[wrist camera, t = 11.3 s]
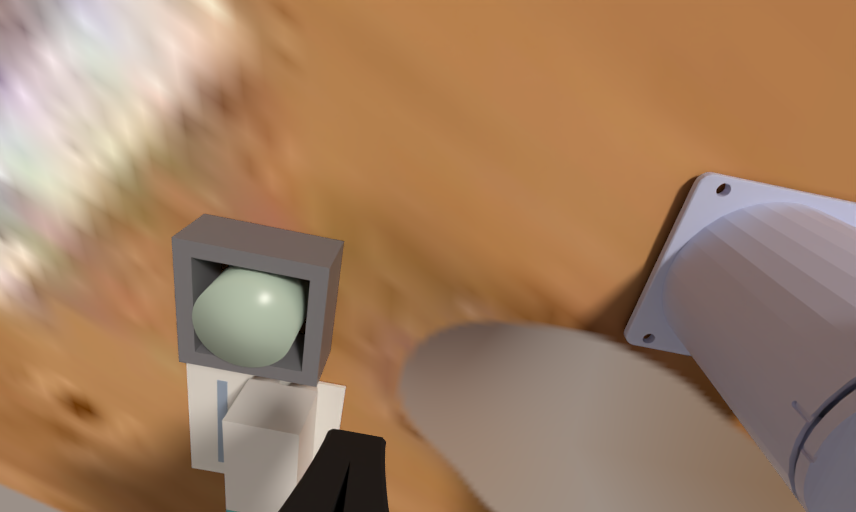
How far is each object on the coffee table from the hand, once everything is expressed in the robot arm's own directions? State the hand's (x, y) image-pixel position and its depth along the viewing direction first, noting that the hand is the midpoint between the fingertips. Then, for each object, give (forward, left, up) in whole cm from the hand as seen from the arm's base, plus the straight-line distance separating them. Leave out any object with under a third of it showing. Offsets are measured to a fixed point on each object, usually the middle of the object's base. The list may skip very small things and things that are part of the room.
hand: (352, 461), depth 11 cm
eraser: (+4, +11, -10) cm, 15 cm away
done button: (+6, +2, -11) cm, 12 cm away
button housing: (+6, +2, -10) cm, 12 cm away
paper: (+6, +11, -10) cm, 16 cm away
